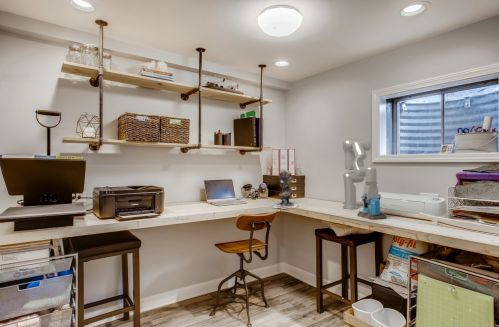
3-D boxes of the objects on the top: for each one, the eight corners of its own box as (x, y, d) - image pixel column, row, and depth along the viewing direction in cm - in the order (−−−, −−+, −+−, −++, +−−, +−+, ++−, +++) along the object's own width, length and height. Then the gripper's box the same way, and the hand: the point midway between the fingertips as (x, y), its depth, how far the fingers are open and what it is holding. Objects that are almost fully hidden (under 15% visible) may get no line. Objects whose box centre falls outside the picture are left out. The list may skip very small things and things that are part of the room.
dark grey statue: (267, 207, 259) (268, 168, 262) (277, 206, 282) (279, 170, 284) (290, 209, 249) (291, 169, 251) (299, 208, 271) (300, 170, 274)
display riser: (357, 216, 218) (357, 211, 218) (370, 214, 222) (370, 210, 222) (372, 220, 203) (372, 215, 203) (386, 218, 207) (386, 213, 207)
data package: (363, 213, 217) (362, 197, 217) (367, 212, 219) (367, 197, 219) (375, 216, 206) (375, 199, 206) (380, 215, 208) (380, 199, 208)
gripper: (376, 183, 218) (377, 205, 219) (357, 184, 213) (358, 207, 213) (384, 183, 211) (384, 207, 212) (365, 185, 206) (365, 209, 206)
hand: (371, 207), depth 212 cm, fingers open, 9 cm apart
